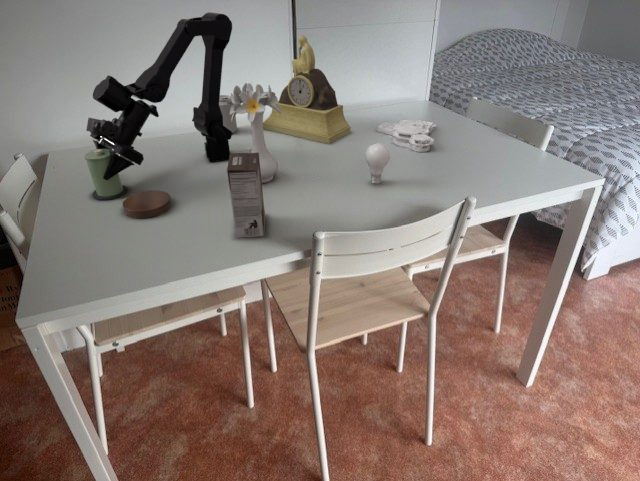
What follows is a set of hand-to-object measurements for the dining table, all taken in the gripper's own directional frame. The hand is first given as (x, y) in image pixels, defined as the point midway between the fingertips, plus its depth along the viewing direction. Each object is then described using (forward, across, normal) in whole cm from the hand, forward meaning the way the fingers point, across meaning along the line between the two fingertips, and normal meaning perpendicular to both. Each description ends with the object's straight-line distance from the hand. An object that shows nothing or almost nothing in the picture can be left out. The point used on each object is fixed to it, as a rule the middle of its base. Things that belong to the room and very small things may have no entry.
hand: (99, 175), depth 114 cm
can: (-31, -18, +39) cm, 53 cm away
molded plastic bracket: (-59, +30, +67) cm, 94 cm away
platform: (0, +15, +7) cm, 16 cm away
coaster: (+3, 0, +5) cm, 6 cm away
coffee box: (-8, +40, +16) cm, 44 cm away
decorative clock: (-45, +1, +53) cm, 70 cm away
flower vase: (-20, +21, +28) cm, 40 cm away
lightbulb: (-34, +46, +42) cm, 71 cm away
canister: (+2, 0, +4) cm, 5 cm away
